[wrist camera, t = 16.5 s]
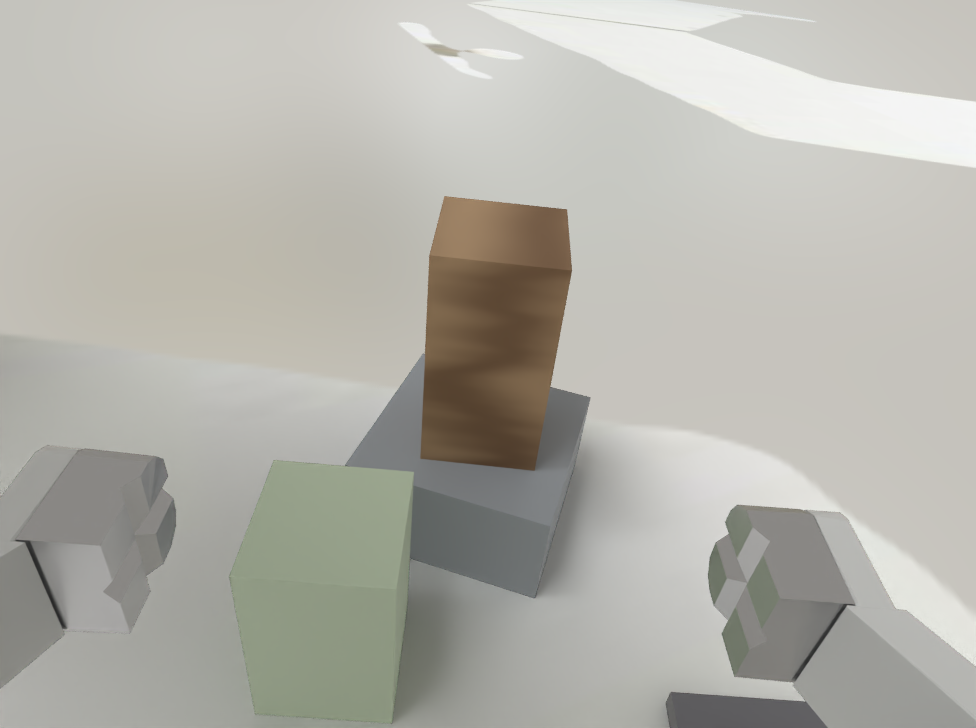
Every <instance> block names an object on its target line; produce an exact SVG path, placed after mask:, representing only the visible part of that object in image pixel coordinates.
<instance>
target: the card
mask: <svg viewBox="0 0 976 728" xmlns="http://www.w3.org/2000/svg"><path fill="white" fill-rule="evenodd" d="M666 708H667V713H668V718H669V723H670V728H828V727H827V726H826V725H825V724H824V723H823V721H822V720H821V719H820V718H819V716H818V715H817V714H816V713H815V712H814V710H813V709H812V708H811V707H810V706H809V704H808V703H807V702H802V701H788V700H774V699H760V698H746V697H732V696H718V695H704V694H690V693H676V692H671V693H670V695H669V697H668V699H667V701H666Z"/></svg>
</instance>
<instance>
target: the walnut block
mask: <svg viewBox="0 0 976 728" xmlns="http://www.w3.org/2000/svg"><path fill="white" fill-rule="evenodd" d="M571 272H572V265H571V253H570V241H569V228H568V216H567V210H566V209H556V208H548V207H539V206H529V205H520V204H511V203H502V202H493V201H484V200H474V199H465V198H456V197H447V196H445V197H444V200H443V204H442V209H441V212H440V216H439V220H438V224H437V228H436V232H435V236H434V240H433V244H432V247H431V251H430V255H429V277H428V299H427V324H426V344H425V367H424V389H423V411H422V434H421V456H420V459H427V460H436V461H446V462H455V463H465V464H474V465H484V466H493V467H503V468H513V469H522V470H532V471H535V466H536V461H537V455H538V450H539V445H540V439H541V434H542V429H543V423H544V418H545V412H546V407H547V402H548V396H549V391H550V385H551V380H552V375H553V369H554V364H555V358H556V353H557V348H558V342H559V337H560V332H561V326H562V320H563V315H564V310H565V305H566V300H567V294H568V289H569V284H570V278H571Z"/></svg>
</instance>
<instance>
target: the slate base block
mask: <svg viewBox="0 0 976 728" xmlns="http://www.w3.org/2000/svg"><path fill="white" fill-rule="evenodd" d="M424 367H425V354H422V356H421V358H420V359H419V360H418V362H417V363H416V364H415V366H414V367H413V369H412V370H411V372H410V373H409V375H408V376H407V377H406V379H405V380H404V382H403V383H402V385H401V386H400V387H399V389H398V390H397V392H396V393H395V395H394V396H393V397H392V399H391V400H390V402H389V403H388V405H387V406H386V407H385V409H384V410H383V412H382V413H381V415H380V416H379V417H378V419H377V420H376V422H375V423H374V425H373V426H372V427H371V429H370V430H369V432H368V433H367V435H366V436H365V438H364V439H363V440H362V442H361V443H360V445H359V446H358V448H357V449H356V450H355V452H354V453H353V455H352V456H351V458H350V459H349V460H348V462H347V463H346V465H345V466H350V467H362V468H374V469H386V470H398V471H410V472H414V482H413V503H412V523H411V544H410V558H411V559H414V560H417V561H420V562H423V563H426V564H429V565H432V566H435V567H439V568H442V569H445V570H448V571H451V572H454V573H457V574H460V575H463V576H467V577H470V578H473V579H476V580H479V581H482V582H485V583H488V584H492V585H495V586H498V587H501V588H504V589H507V590H510V591H513V592H516V593H520V594H523V595H526V596H529V597H532V598H535V596H536V592H537V589H538V586H539V582H540V579H541V576H542V572H543V569H544V566H545V562H546V559H547V556H548V552H549V549H550V546H551V542H552V539H553V536H554V532H555V529H556V526H557V522H558V519H559V516H560V512H561V509H562V506H563V502H564V499H565V496H566V493H567V489H568V486H569V483H570V479H571V476H572V473H573V469H574V466H575V462H576V458H577V453H578V449H579V445H580V440H581V436H582V432H583V428H584V423H585V419H586V415H587V410H588V406H589V401H590V397H587V396H583V395H579V394H575V393H571V392H567V391H564V390H560V389H556V388H552V387H550V391H549V396H548V402H547V407H546V412H545V418H544V423H543V429H542V434H541V439H540V445H539V450H538V455H537V461H536V466H535V471H532V470H522V469H513V468H503V467H493V466H484V465H474V464H465V463H455V462H446V461H436V460H427V459H420V456H421V434H422V411H423V389H424Z"/></svg>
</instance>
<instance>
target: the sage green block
mask: <svg viewBox="0 0 976 728" xmlns="http://www.w3.org/2000/svg"><path fill="white" fill-rule="evenodd" d="M413 482H414V472H410V471H398V470H386V469H374V468H362V467H350V466H338V465H326V464H314V463H302V462H291V461H279V460H274V461H273V464H272V466H271V469H270V472H269V474H268V477H267V479H266V482H265V485H264V487H263V490H262V492H261V495H260V498H259V500H258V503H257V505H256V508H255V511H254V513H253V516H252V518H251V521H250V524H249V526H248V529H247V531H246V534H245V537H244V539H243V542H242V544H241V547H240V550H239V552H238V555H237V557H236V560H235V563H234V565H233V568H232V570H231V573H230V575H229V578H230V584H231V589H232V594H233V600H234V605H235V610H236V616H237V621H238V626H239V631H240V637H241V642H242V647H243V653H244V658H245V663H246V669H247V674H248V679H249V684H250V690H251V695H252V700H253V706H254V711H255V714H260V715H275V716H289V717H303V718H318V719H332V720H346V721H361V722H375V723H390V724H392V720H393V713H394V705H395V697H396V690H397V682H398V674H399V667H400V659H401V652H402V644H403V636H404V629H405V621H406V613H407V605H408V584H409V564H410V544H411V523H412V503H413Z"/></svg>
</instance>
